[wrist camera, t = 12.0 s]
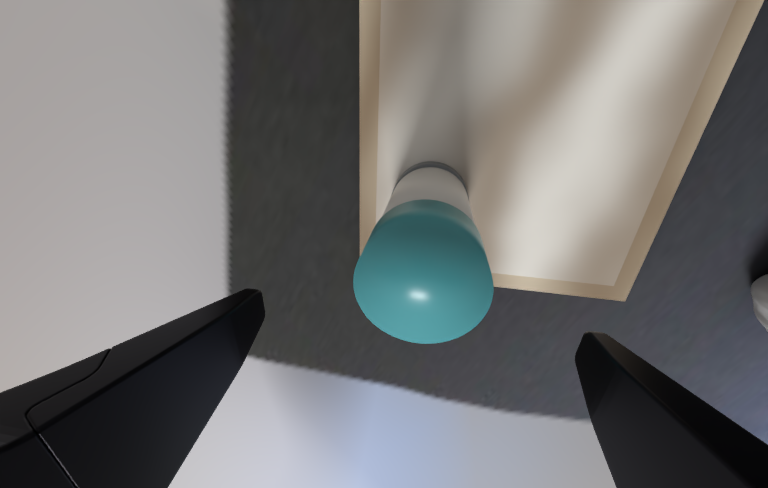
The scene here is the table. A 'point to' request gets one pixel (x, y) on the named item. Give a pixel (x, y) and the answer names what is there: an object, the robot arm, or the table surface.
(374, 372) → the table surface
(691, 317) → the table surface
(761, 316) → the garlic
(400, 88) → the picture frame
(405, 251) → the cylinder
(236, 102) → the table surface
